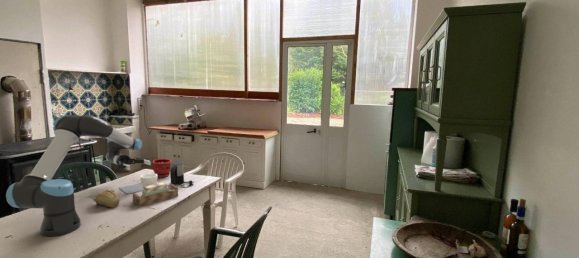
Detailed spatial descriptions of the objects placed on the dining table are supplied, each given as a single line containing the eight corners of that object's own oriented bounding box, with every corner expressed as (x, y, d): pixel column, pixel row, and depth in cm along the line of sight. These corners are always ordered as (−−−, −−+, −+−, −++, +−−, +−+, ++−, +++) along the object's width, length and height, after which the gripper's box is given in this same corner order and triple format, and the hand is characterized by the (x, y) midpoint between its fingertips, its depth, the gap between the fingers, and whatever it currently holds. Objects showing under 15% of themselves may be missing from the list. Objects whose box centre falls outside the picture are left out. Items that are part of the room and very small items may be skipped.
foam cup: (157, 197, 179) (156, 177, 177) (141, 199, 176) (140, 178, 174) (158, 192, 188) (157, 172, 186) (142, 193, 184) (141, 174, 183)
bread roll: (105, 200, 173) (104, 187, 172) (124, 203, 168) (123, 190, 167) (90, 206, 164) (89, 192, 163) (109, 210, 159) (108, 196, 158)
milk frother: (171, 181, 209) (170, 161, 207) (194, 179, 214) (193, 160, 212) (169, 187, 196) (168, 166, 194) (193, 186, 200) (193, 165, 198)
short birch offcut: (147, 192, 169) (146, 188, 169) (144, 190, 172) (143, 186, 172) (167, 187, 178) (166, 183, 177) (163, 185, 181) (163, 182, 180)
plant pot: (156, 179, 212) (155, 163, 210) (150, 175, 222) (150, 160, 220) (174, 176, 221) (173, 161, 219) (168, 172, 230) (167, 157, 229)
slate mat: (127, 194, 182) (127, 193, 182) (118, 188, 192) (118, 187, 192) (151, 188, 193) (151, 188, 193) (142, 183, 203) (142, 182, 203)
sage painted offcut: (145, 197, 169) (145, 193, 168) (142, 195, 172) (142, 191, 171) (168, 191, 179) (168, 187, 179) (165, 189, 182) (165, 185, 181)
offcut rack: (137, 206, 164) (137, 196, 163) (132, 203, 169) (132, 193, 168) (178, 196, 182) (177, 186, 181) (172, 192, 187) (172, 184, 186)
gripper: (140, 161, 207) (158, 166, 196) (103, 169, 186) (120, 176, 175) (139, 151, 206) (157, 155, 195) (102, 158, 185) (119, 164, 174)
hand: (140, 165), depth 185 cm, fingers open, 13 cm apart
